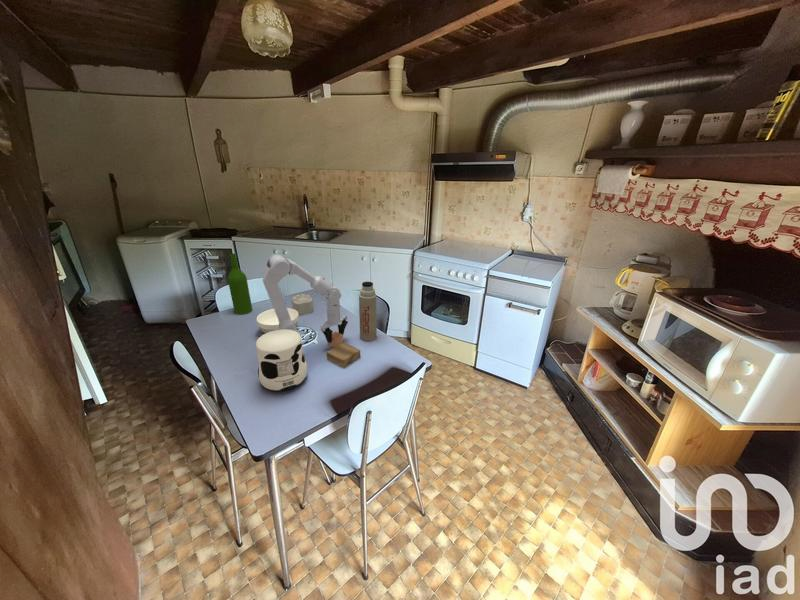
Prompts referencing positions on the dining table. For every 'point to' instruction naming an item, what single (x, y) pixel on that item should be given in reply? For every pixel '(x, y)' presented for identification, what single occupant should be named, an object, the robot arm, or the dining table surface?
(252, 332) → the dining table surface
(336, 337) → the terracotta cube
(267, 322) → the bowl
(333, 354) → the walnut base
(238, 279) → the wine bottle
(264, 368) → the milk container
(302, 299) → the lumpy-topped squat cylinder
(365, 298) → the thermos bottle
